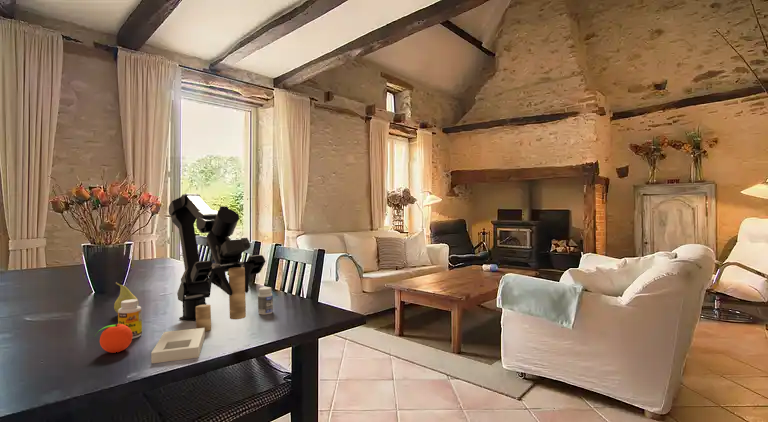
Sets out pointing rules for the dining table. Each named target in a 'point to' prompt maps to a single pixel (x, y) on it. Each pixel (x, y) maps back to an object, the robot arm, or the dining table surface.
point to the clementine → (115, 338)
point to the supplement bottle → (131, 316)
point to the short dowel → (203, 317)
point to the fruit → (123, 297)
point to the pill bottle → (265, 301)
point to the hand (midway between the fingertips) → (239, 293)
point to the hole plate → (178, 345)
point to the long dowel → (237, 293)
